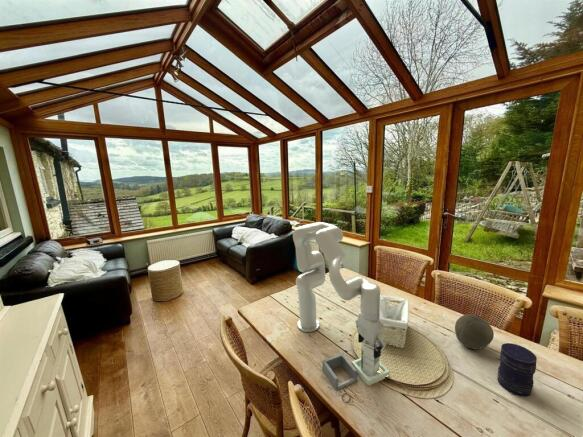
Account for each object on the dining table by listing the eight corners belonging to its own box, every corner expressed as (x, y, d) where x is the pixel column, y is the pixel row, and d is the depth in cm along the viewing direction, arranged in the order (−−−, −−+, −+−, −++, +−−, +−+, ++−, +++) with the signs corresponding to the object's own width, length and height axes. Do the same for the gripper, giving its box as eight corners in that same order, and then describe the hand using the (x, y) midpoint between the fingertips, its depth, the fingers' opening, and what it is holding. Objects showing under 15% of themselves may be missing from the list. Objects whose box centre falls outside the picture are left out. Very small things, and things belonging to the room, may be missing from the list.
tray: (351, 366, 105) (351, 361, 104) (371, 358, 108) (371, 353, 108) (368, 386, 94) (368, 381, 94) (389, 376, 98) (389, 371, 98)
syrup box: (366, 362, 105) (366, 334, 103) (379, 369, 101) (380, 340, 99) (360, 370, 101) (360, 341, 98) (374, 378, 97) (374, 347, 94)
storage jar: (495, 386, 91) (499, 353, 88) (498, 370, 98) (502, 339, 95) (531, 403, 84) (537, 367, 81) (532, 385, 91) (537, 351, 88)
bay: (322, 370, 103) (322, 360, 102) (342, 362, 107) (342, 352, 106) (335, 390, 94) (335, 379, 93) (357, 380, 97) (357, 370, 96)
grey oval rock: (475, 360, 104) (478, 330, 101) (446, 339, 117) (448, 312, 114) (498, 352, 107) (502, 323, 104) (468, 332, 121) (471, 306, 118)
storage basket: (378, 316, 139) (378, 293, 136) (408, 323, 131) (409, 299, 129) (371, 342, 118) (371, 316, 115) (407, 352, 111) (408, 324, 108)
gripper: (349, 304, 103) (349, 338, 106) (377, 328, 87) (376, 367, 91) (363, 300, 106) (362, 333, 109) (393, 322, 90) (391, 360, 93)
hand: (369, 348), depth 100 cm, fingers open, 9 cm apart
